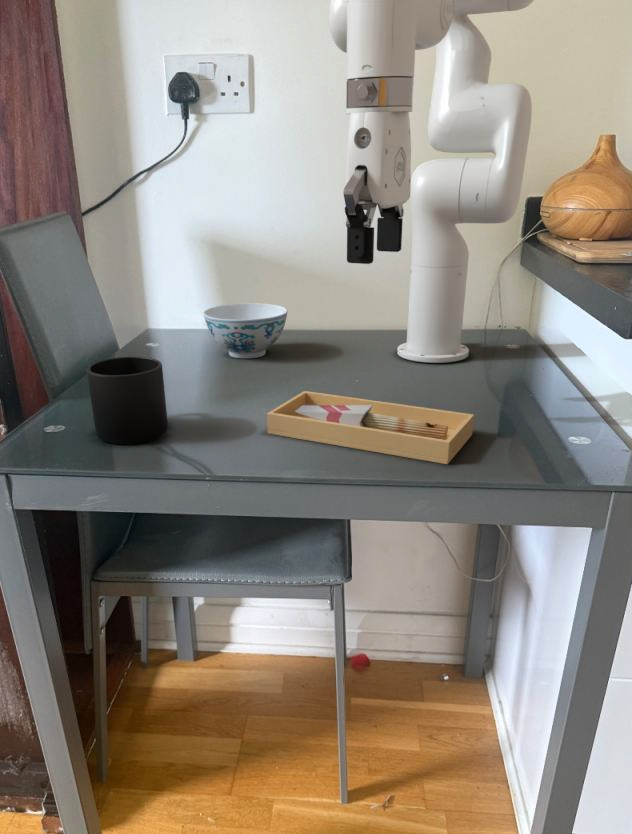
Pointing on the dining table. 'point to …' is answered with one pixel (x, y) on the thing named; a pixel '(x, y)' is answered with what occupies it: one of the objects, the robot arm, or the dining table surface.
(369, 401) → the brush tray
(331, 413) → the folding fan
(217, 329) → the chinaware
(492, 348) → the dining table surface
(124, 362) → the mug
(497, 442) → the dining table surface
